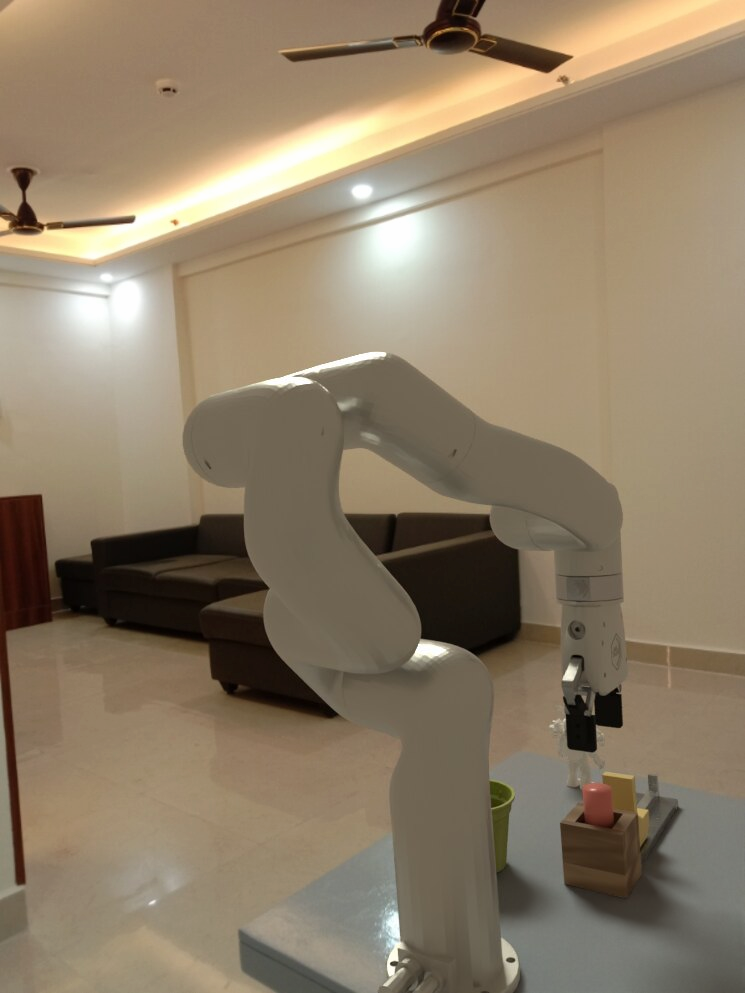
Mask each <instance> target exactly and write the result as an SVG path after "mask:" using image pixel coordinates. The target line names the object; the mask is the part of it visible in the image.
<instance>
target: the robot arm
mask: <svg viewBox="0 0 745 993" xmlns="http://www.w3.org/2000/svg"><path fill="white" fill-rule="evenodd" d="M183 426H184V427H183V430H182V447H183V453H184V456H185V458H186V461H187V462H188V464H189V466H190V467H191V468H192V470H193V471H194V473H196V474H197V475H198V476H199V477H200V478H201V479H203V480H204V481H206V482H208V483H209V484H212V485H214V486H216V487H222V488H226V489H227V488H228V489H240V488H244V495H243V532H244V542H245V548H246V551H247V556H248V557H249V560H250V562H251V564H252V566H253V568H254V570H255V571H256V573H257V574H258V576H259V577H260V578H261V580H262V581H263V582H264V584H265V585H267V587H268V588H269V589H268V591H267V593H266V596H265V598H264V599H265V600H264V604H263V614H262V615H263V616H262V617H263V625H264V630H265V633H266V635H267V638H268V640H269V642H270V645H271V646H272V648H273V650H274V651H275V652H276V654H277V655H278V656H279V657H280V659H281V660H282V661H283V662H284V663H285V664H286V665H287V666H288V667H289V668H290V669H291V670H292V671H293V672H294V673H295V674H296V675H297V676H298V677H299V678H300V679H301V680H302V681H303V682H304V683H305V684H306V685H307V686H308V687H309V688H310V689H311V690H313V691H314V693H316V694H317V696H318V697H319V698H321V699H322V700H323V701H324V702H325V703H326V704H327V706H329V707H330V708H331V709H333V711H335V713H337V714H338V715H339V716H341V717H342V718H343V719H345V720H346V721H348V722H350V723H352V724H354V725H357V726H360V727H362V728H364V729H368V730H371V731H376V732H378V733H382V734H385V735H388V736H390V737H392V738H396V739H398V740H400V744H401V750H400V753H399V754H400V755H399V757H398V760H397V761H396V764H395V766H394V768H393V771H392V774H391V778H390V782H389V789H388V794H389V796H388V797H389V798H388V800H389V801H388V802H389V814H390V821H391V837H392V851H393V860H394V871H395V872H394V876H395V887H396V888H395V890H396V900H397V912H398V927H399V940H400V941H398V943H397V944H396V945H395V946H394V947H393V948H392V950H391V951H390V953H389V954H388V957H387V961H386V962H385V966H386V967H385V971H386V972H385V973H386V979H385V981H384V982H382V984H381V985H380V986H379V987H378V989H377V993H514V992H515V991H516V990H517V989H518V986H519V982H520V979H521V967H520V958H519V956H518V953H517V951H516V950H515V949H514V948H513V945H511V943H509V942H508V941H507V940H506V939H505V938H503V937H502V933H501V919H500V918H501V917H500V905H499V904H500V903H499V893H498V892H499V891H498V878H497V873H496V862H495V848H494V835H493V823H492V810H491V798H490V781H489V780H490V741H491V732H492V724H493V716H494V708H495V688H494V687H495V686H494V682H493V678H492V675H491V673H490V671H489V670H488V668H487V666H486V665H485V664H484V662H482V660H481V659H480V658H479V657H477V655H475V654H474V653H472V652H471V651H469V650H467V649H465V648H463V647H460V646H459V645H454V644H452V643H449V642H448V643H447V642H443V641H438V640H437V641H436V640H432V639H424V638H421V636H422V622H421V619H420V615H419V612H418V610H417V607H416V605H415V604H414V602H413V600H412V598H411V597H410V595H409V594H408V592H407V591H406V589H404V587H403V586H402V585H401V584H400V582H398V580H397V579H396V578H395V577H394V576H393V575H392V574H391V573H390V571H389V570H388V569H387V568H386V566H385V565H384V564H383V563H382V561H380V560H379V559H378V557H377V556H376V555H375V554H374V552H372V550H371V549H370V548H369V547H368V545H367V544H366V543H365V542H364V541H363V540H362V538H361V537H360V536H359V534H357V532H356V531H355V529H354V527H353V526H352V524H351V523H350V522H349V521H348V519H347V517H346V515H345V513H344V511H343V508H342V502H341V498H340V485H339V484H340V475H341V474H340V473H341V467H342V465H341V464H342V459H343V455H344V454H343V453H344V451H347V450H353V449H354V450H355V449H365V450H368V451H370V452H373V453H374V454H375V455H377V456H378V457H380V458H382V459H383V460H384V461H387V462H388V463H390V464H391V465H393V466H394V467H396V468H398V469H399V470H401V471H403V472H404V473H406V474H408V475H409V476H410V477H412V478H414V480H416V481H418V482H419V483H420V484H422V485H424V486H425V487H427V488H428V489H430V490H431V491H433V492H434V493H437V494H438V495H440V496H443V497H446V498H450V499H453V500H457V501H461V502H464V503H465V502H466V503H470V504H476V505H485V506H491V507H490V512H489V523H490V528H491V529H492V532H493V533H494V535H495V536H496V538H497V539H498V540H499V541H500V542H501V543H502V544H504V545H506V546H507V547H509V548H512V549H515V550H520V551H529V552H530V551H537V552H539V551H540V552H551V551H553V563H554V579H555V580H554V581H555V584H554V585H555V598H556V599H555V602H556V604H558V605H561V615H560V617H561V618H560V620H561V621H560V664H561V665H560V666H561V670H560V671H561V679H562V680H561V689H562V693H563V696H562V702H563V704H564V707H563V708H564V712H565V714H566V715H565V718H566V733H567V747H568V748H569V749H570V750H577V751H584V752H591V753H594V752H595V751H596V752H597V750H598V742H597V735H596V728H597V727H606V728H612V729H613V728H614V729H620V728H623V726H624V720H623V719H624V718H623V716H624V715H623V703H622V702H623V698H622V697H623V696H622V693H621V692H622V690H623V689H622V684H624V682H625V681H626V680H627V679H628V676H629V667H628V666H629V665H628V664H629V663H628V655H627V654H628V653H627V643H626V635H625V626H624V616H623V612H622V605H621V604H622V603H624V601H625V600H624V580H623V558H622V557H623V555H622V533H621V529H622V527H623V521H624V514H623V512H624V511H623V506H622V504H621V500H620V498H619V492H618V488H616V486H615V485H614V484H613V483H611V482H609V481H608V480H607V479H606V478H605V477H604V476H603V475H602V474H600V473H599V471H597V470H596V469H595V468H593V467H592V466H590V464H589V463H587V462H586V461H585V460H583V459H582V458H580V456H577V455H576V454H574V453H573V452H570V451H568V450H566V449H564V448H561V447H559V446H557V445H554V444H552V443H549V442H546V441H544V440H541V439H537V438H535V437H532V436H529V435H526V434H522V433H520V432H518V431H516V430H512V429H509V428H507V427H502V426H500V425H496V424H493V423H490V422H489V421H486V420H485V419H483V418H481V417H480V416H479V415H478V414H476V413H475V412H474V411H472V410H471V409H470V408H469V407H468V406H466V405H465V404H463V402H461V401H460V400H458V399H457V398H455V397H454V396H453V395H452V394H451V393H449V392H448V391H447V390H445V389H444V388H443V387H441V386H440V385H439V384H437V382H435V381H433V380H432V379H431V378H430V377H428V376H427V375H426V374H424V373H423V372H422V371H421V370H419V369H418V368H417V367H415V366H414V365H412V364H411V363H410V362H408V361H407V360H405V359H404V358H402V357H400V356H398V355H395V354H394V353H389V352H384V351H371V352H365V353H361V354H358V355H353V356H349V357H346V358H342V359H340V360H339V359H338V360H335V361H332V362H328V363H324V364H320V365H316V366H314V367H311V368H308V369H304V370H301V371H298V372H295V373H291V374H288V375H285V376H283V377H278V378H272V379H268V380H263V381H259V382H256V383H255V382H254V383H252V384H249V385H246V386H242V387H238V388H234V389H231V390H227V391H223V392H219V393H216V394H213V395H210V396H208V397H207V398H204V400H202V401H200V402H199V403H198V404H197V405H196V406H195V407H194V408H193V409H192V411H191V412H190V414H189V415H188V417H187V418H186V421H185V424H184V425H183ZM582 696H583V697H584V696H585V701H584V699H583V697H582ZM593 709H594V714H593ZM597 725H598V726H597Z"/></svg>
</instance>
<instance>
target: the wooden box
mask: <svg viewBox="0 0 745 993" xmlns="http://www.w3.org/2000/svg"><path fill="white" fill-rule="evenodd" d="M613 815H614V827H613V828H612V829H610V828H605V827H599V826H594V825H589V824H585V817H584V803H583V802H577V803H576V804H575V805H574V807H572V809H571V810H570V811H569V812H568V813H567V814H566V815H565V817H564V818H563V819H562V820H561V821H560V822H559V828H560V841H561V856H562V869H563V882H564V883H563V884H564V885H567V886H571V887H574V888H575V887H576V888H581V889H585V890H588V891H593V892H598V893H602V894H604V895H605V894H606V895H610V896H614V897H619V898H623V899H627V898H628V896H629V895H630V893H631V892H632V890H633V889H634V887H635V886H636V884H637V882H638V881H639V879H640V878H641V876H642V874H643V870H642V866H641V852H640V838H639V823H638V813H636V812H630V811H624V810H619V809H613Z"/></svg>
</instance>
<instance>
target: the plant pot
mask: <svg viewBox="0 0 745 993" xmlns="http://www.w3.org/2000/svg"><path fill="white" fill-rule="evenodd" d="M489 781H490V798H491V810H492V823H493V835H494V848H495V862H496V874H497V873H500V872H501V871H502V870H504V869H505V867H506V865H507V859H508V858H507V856H508V843H509V842H508V841H509V824H510V822H509V821H510V812H511V811H512V804H513V802H515V801H514V800H515V799H516V798H515V797H516V793H515V790H514V788H513V787H512V786H510V785H509V784H507V783H505V782H502V781H499V780H494V779H489Z"/></svg>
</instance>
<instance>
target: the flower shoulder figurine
mask: <svg viewBox="0 0 745 993" xmlns="http://www.w3.org/2000/svg"><path fill="white" fill-rule="evenodd" d="M554 707H555V710H556V709H557V712H561V714H562V715H564V716H566V714H565V712H564V707H563V706H561V705H559V704H558V703H555V704H554ZM551 722H552V723H553V724H550V725H549V726H548V728H549V729H550V730H549V732H550V735H551V737H552V738H554V739H555V738H557V737H558V736H559V737H558V740H557V755H558V757H559V758H563V757H566V758H567V761H568V769H569V770H568V776H567V780H566V785H567V787H569V788H578V787H579V789H580V790H581V791H583V786H584V785H586V784H589V783H595V782H594V781H592V771H591V765H590V762H589V758H588V756H589V757H590V758H591V759H592V761H593V763H594V764H596V766H597V767H598V768H599V770H601V769H604V768H605V765H606V762H605V760H604V759H603V758H602V757H601V756H600V755H599V753H598V752H597V750H596V751H595V752H594V753H591V752H584V751H577V750H570V749H569V748H568V747H567V733H566V717H564V719H562V717H558V719H556V720H552V721H551ZM597 727H599V726H598V725H596V735H597V744H598V745H599V746H600V747H604V746H605V743H606V738H605V737H604V736H605V733H603V732H602V731H601V730H599V729H598V728H597ZM559 734H560V735H559ZM579 771H581V772H580V773H581V776H580V778H579Z"/></svg>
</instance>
